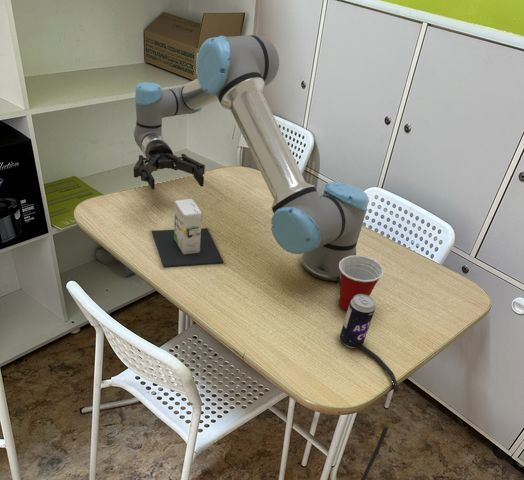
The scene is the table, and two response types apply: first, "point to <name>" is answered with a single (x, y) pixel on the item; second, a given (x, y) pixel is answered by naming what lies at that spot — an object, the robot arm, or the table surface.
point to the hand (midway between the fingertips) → (178, 183)
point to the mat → (175, 257)
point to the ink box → (187, 226)
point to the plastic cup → (358, 277)
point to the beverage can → (357, 320)
